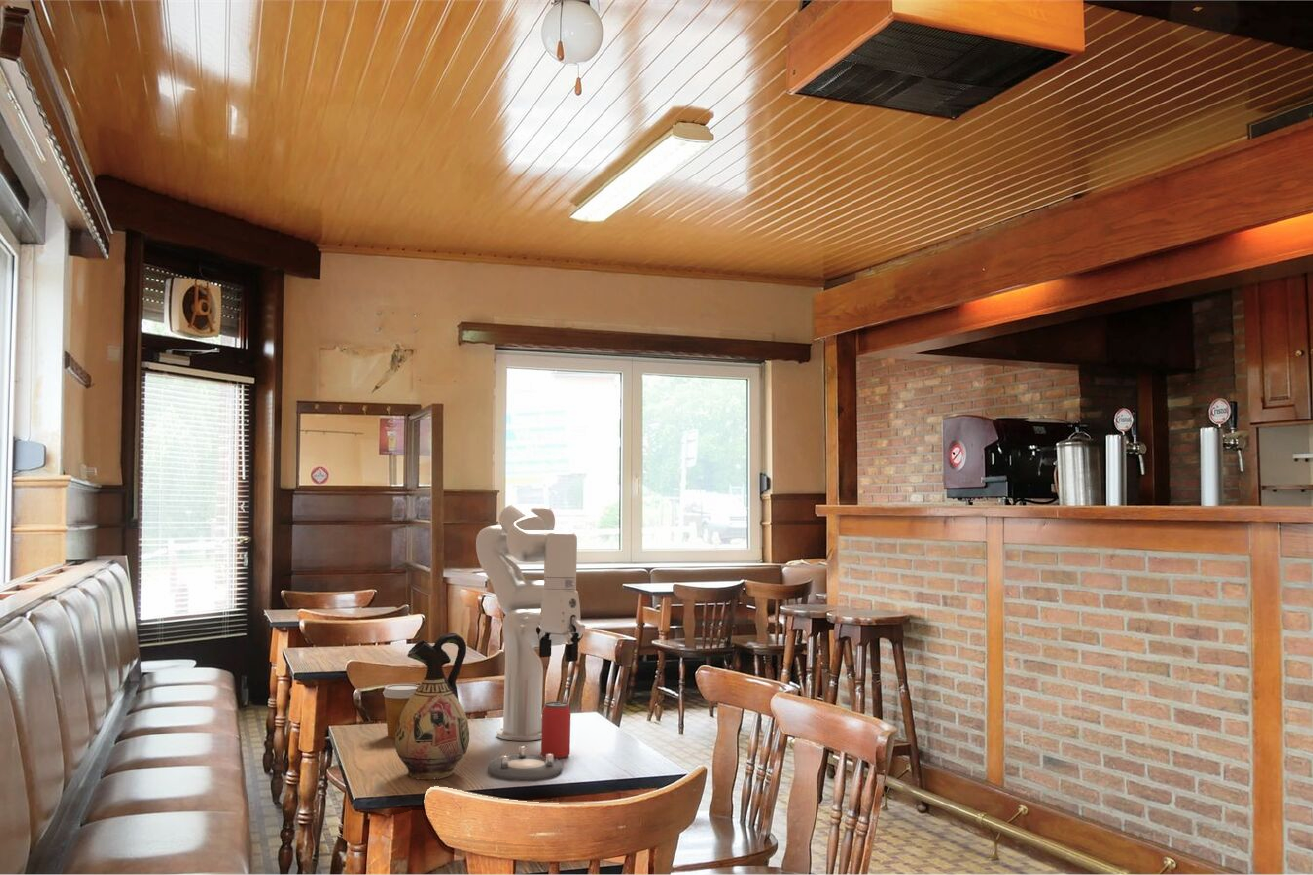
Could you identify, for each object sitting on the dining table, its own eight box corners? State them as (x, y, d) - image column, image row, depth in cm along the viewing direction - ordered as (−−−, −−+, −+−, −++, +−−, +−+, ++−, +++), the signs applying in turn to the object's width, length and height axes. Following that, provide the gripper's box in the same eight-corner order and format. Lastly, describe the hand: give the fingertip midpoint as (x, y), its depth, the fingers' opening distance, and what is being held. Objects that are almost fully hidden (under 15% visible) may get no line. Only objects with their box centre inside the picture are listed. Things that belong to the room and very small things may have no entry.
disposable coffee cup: (428, 735, 257) (430, 686, 258) (400, 741, 249) (402, 691, 250) (401, 730, 262) (403, 682, 263) (372, 736, 254) (374, 687, 255)
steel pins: (522, 756, 230) (523, 745, 230) (554, 766, 222) (554, 754, 222) (485, 763, 223) (486, 751, 223) (517, 773, 215) (517, 761, 215)
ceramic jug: (400, 787, 208) (406, 637, 210) (388, 769, 222) (393, 629, 225) (483, 780, 215) (487, 635, 217) (466, 763, 229) (470, 627, 231)
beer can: (573, 754, 239) (575, 702, 240) (562, 760, 233) (563, 707, 234) (548, 751, 241) (549, 700, 242) (535, 758, 235) (537, 704, 236)
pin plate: (532, 758, 234) (532, 751, 235) (577, 772, 223) (577, 764, 223) (473, 769, 223) (473, 762, 223) (517, 784, 212) (517, 776, 212)
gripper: (596, 586, 236) (594, 661, 235) (549, 582, 249) (547, 654, 247) (571, 587, 231) (569, 664, 230) (524, 583, 244) (522, 656, 242)
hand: (558, 659), depth 239 cm, fingers open, 9 cm apart
